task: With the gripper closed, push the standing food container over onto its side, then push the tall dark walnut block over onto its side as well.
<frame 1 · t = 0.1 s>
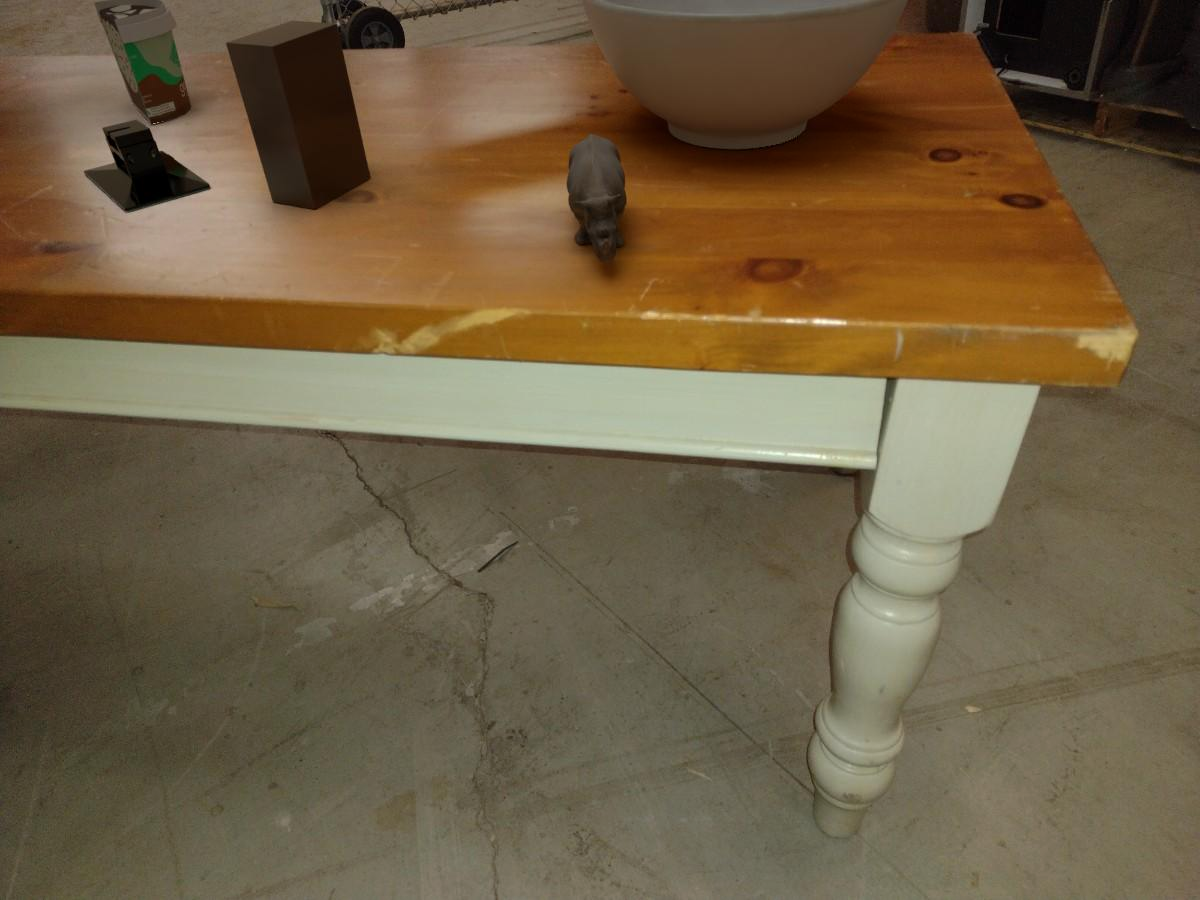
decorative bowl: (736, 128, 79), on the table
build plate: (146, 183, 75), on the table
rhino figurine: (599, 244, 61), on the table
food container: (172, 110, 93), on the table
walnut block: (322, 190, 72), on the table
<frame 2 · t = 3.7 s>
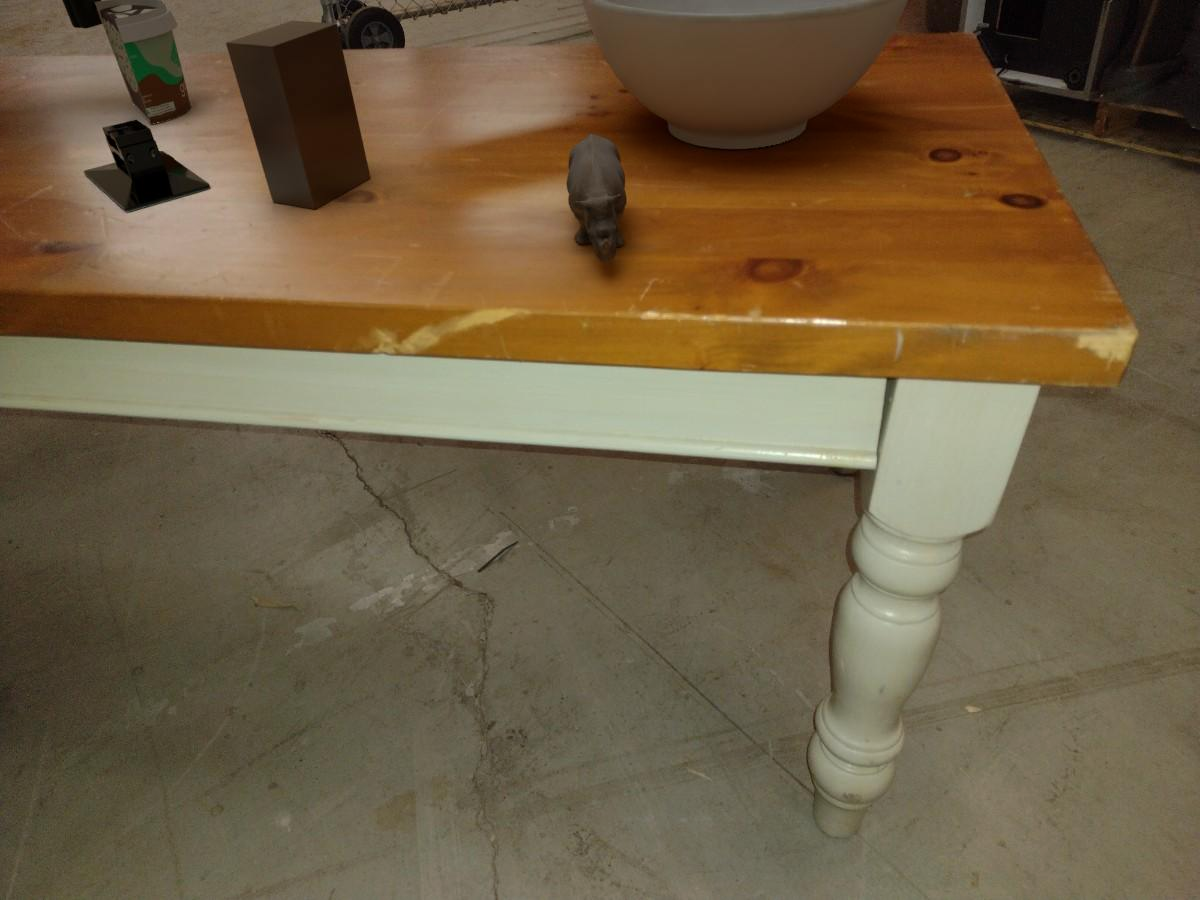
hand: (91, 24, 91), 8 cm above the table, tool pointing down, fingers closed
food container: (172, 110, 93), on the table, touching gripper
everything else where it was.
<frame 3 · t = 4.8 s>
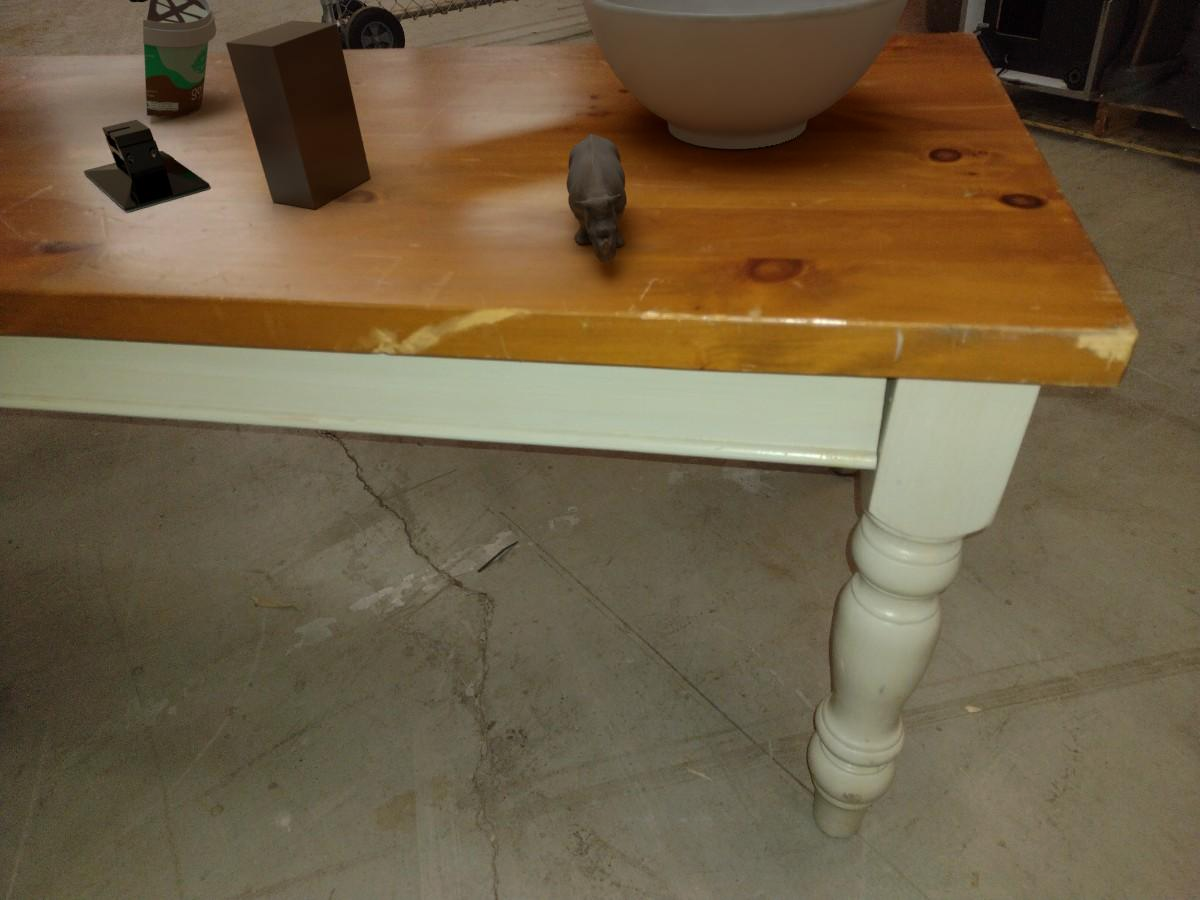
food container: (182, 101, 92), point 1 cm above the table, touching gripper
everything else where it was.
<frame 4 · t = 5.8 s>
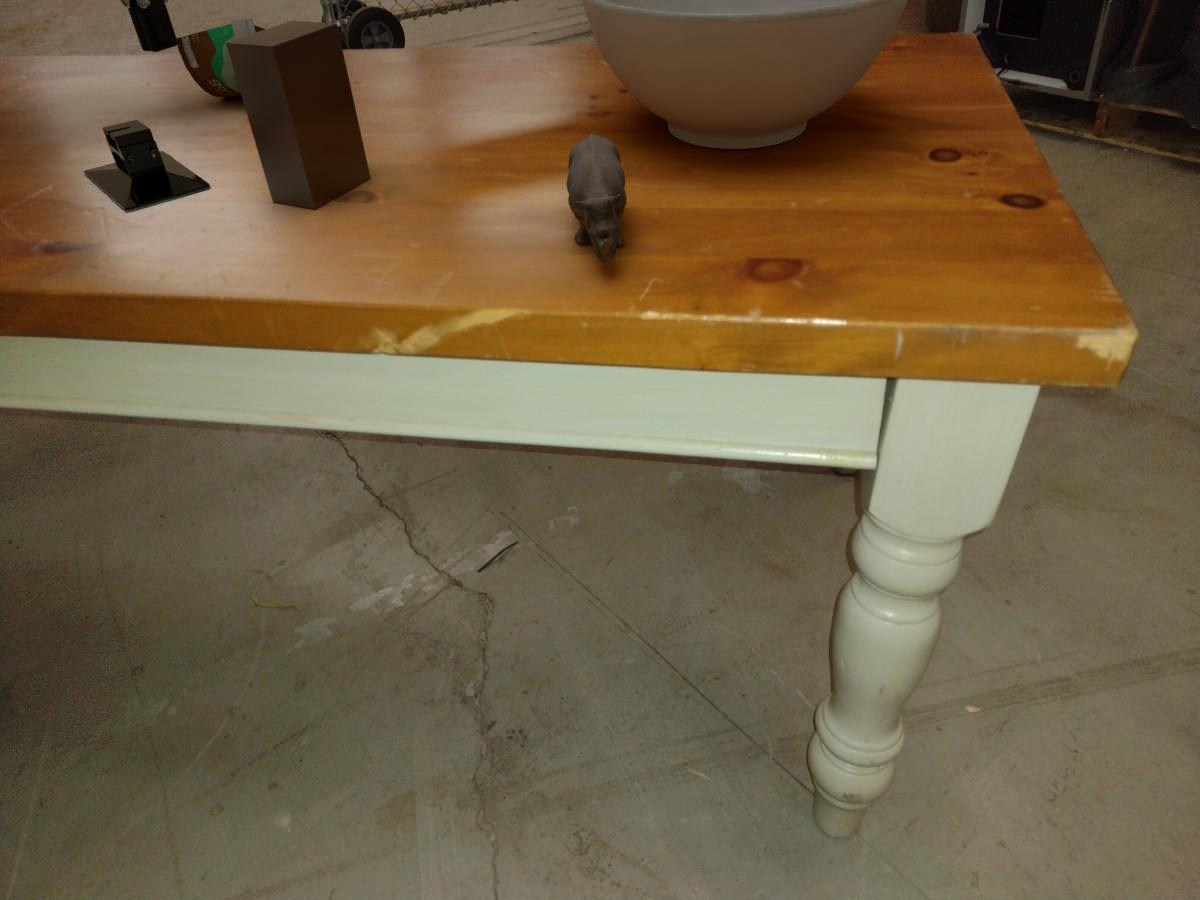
hand: (160, 47, 88), 6 cm above the table, tool pointing down, fingers closed
food container: (211, 78, 93), point 2 cm above the table, touching gripper
everything else where it was.
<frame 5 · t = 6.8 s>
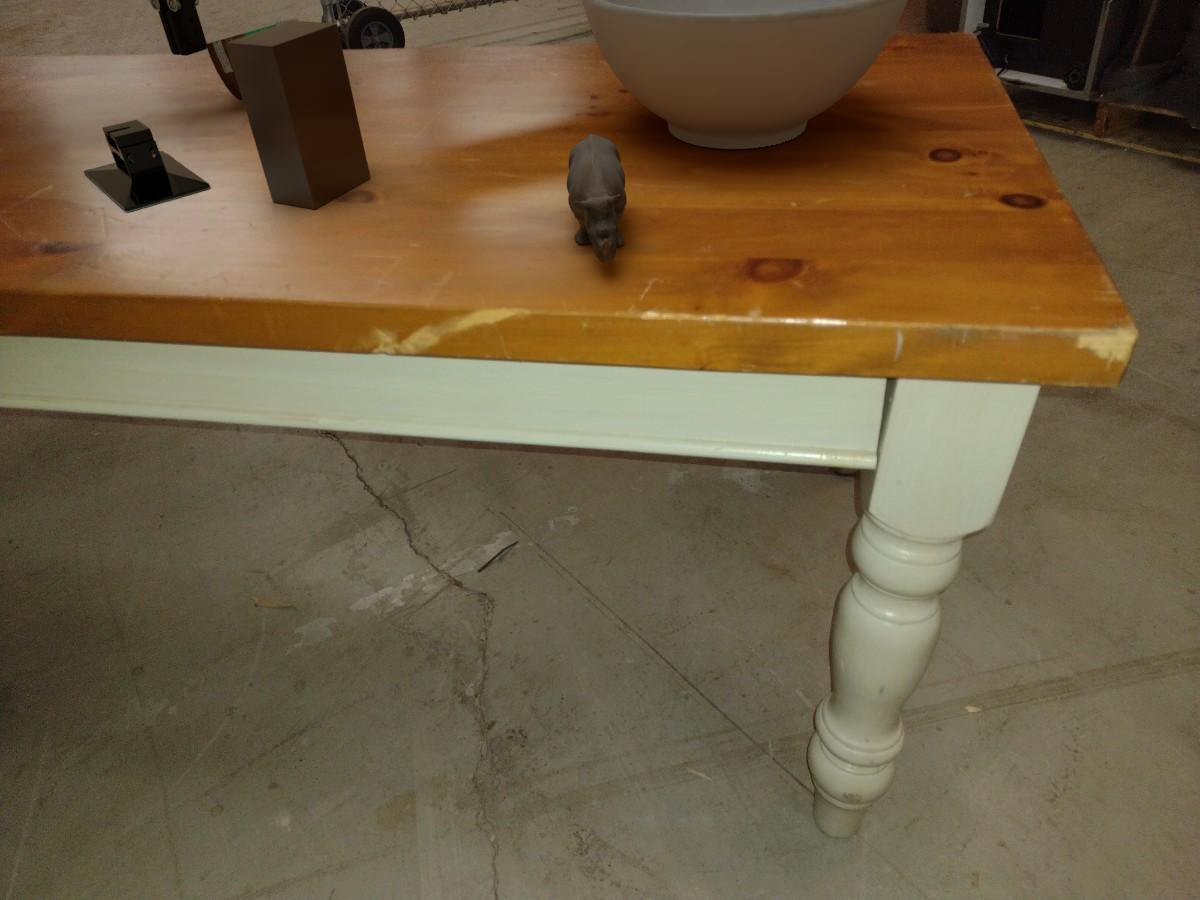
hand: (190, 51, 87), 6 cm above the table, tool pointing down, fingers closed
food container: (233, 82, 92), point 2 cm above the table, touching gripper
everything else where it was.
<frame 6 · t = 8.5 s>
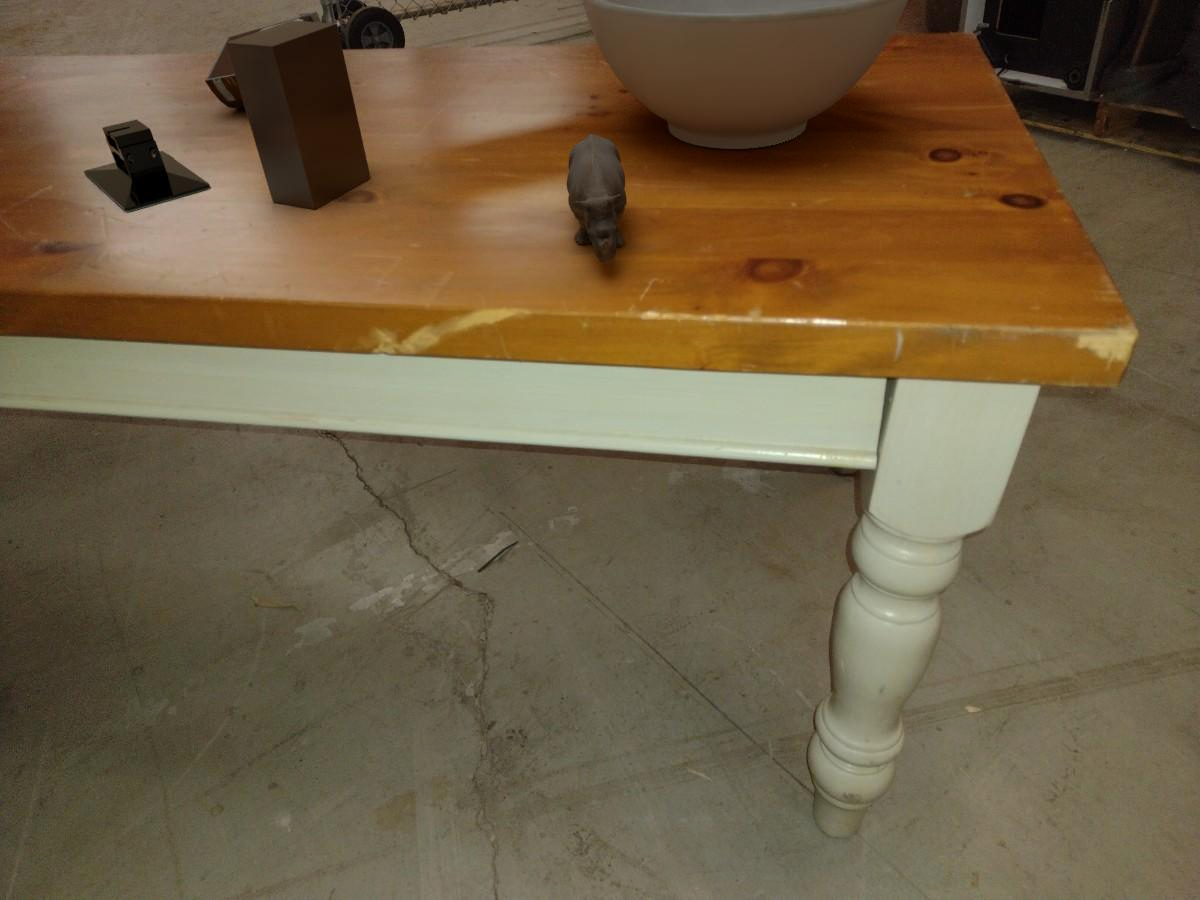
food container: (230, 86, 91), point 2 cm above the table
everything else where it was.
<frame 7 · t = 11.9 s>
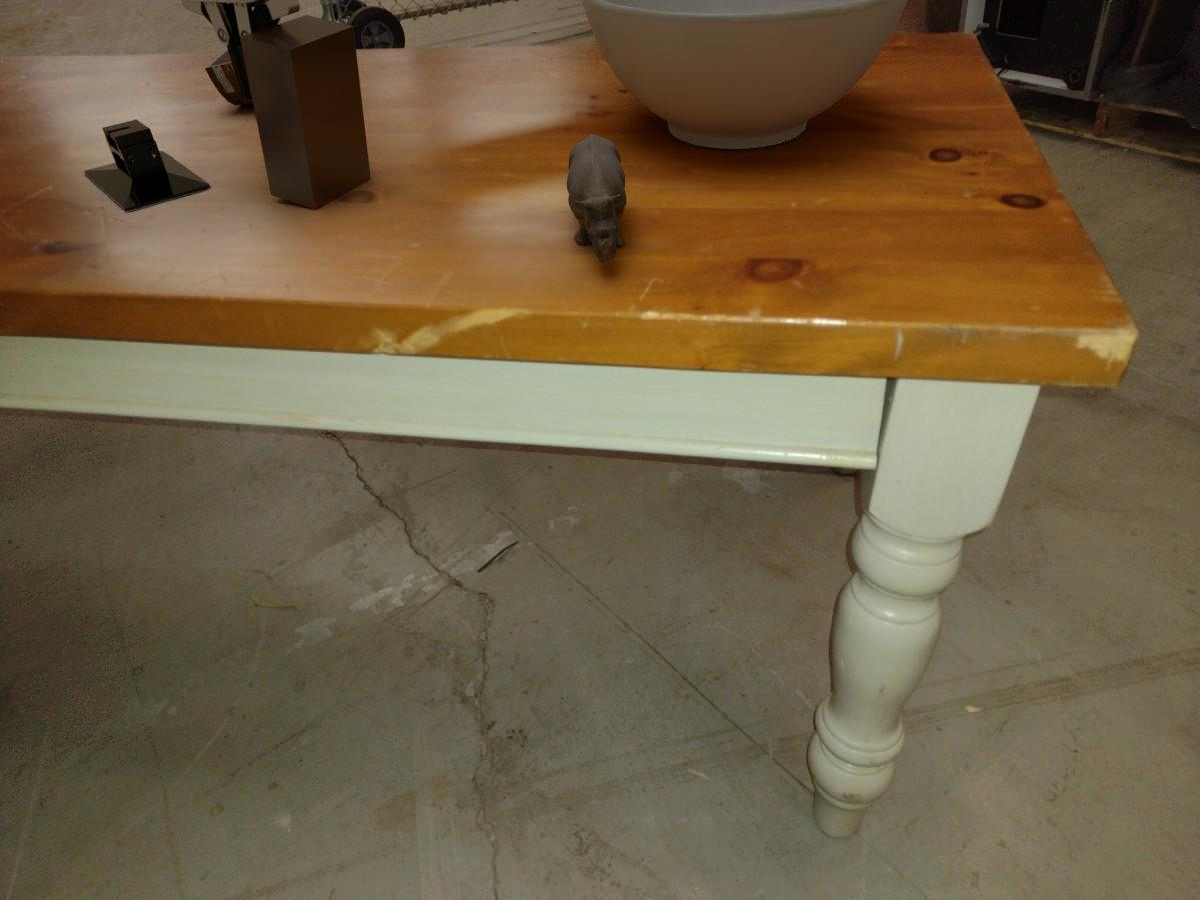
hand: (264, 94, 68), 7 cm above the table, tool pointing down, fingers closed
walnut block: (322, 186, 71), on the table, tilted 8°
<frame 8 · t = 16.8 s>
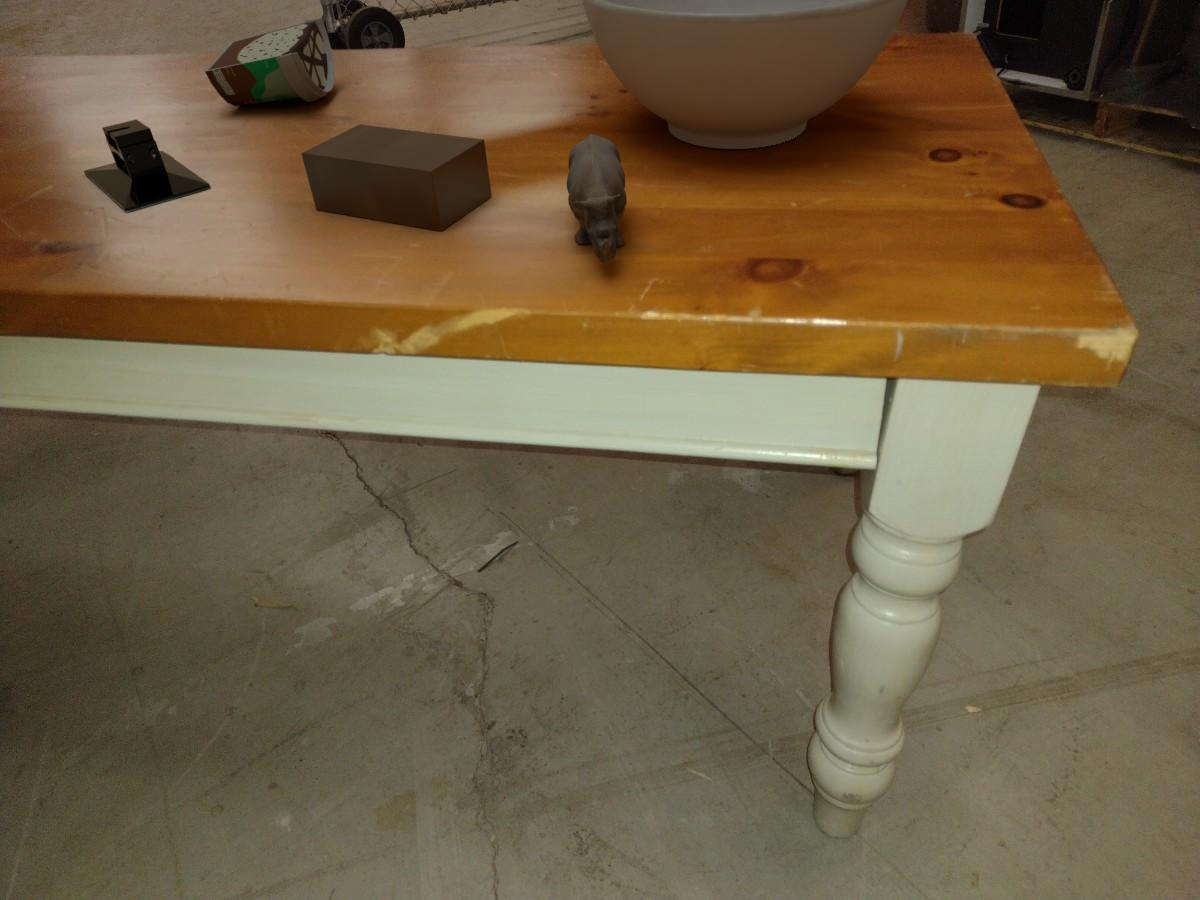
walnut block: (338, 166, 69), point 2 cm above the table, tilted 90°
everything else where it was.
at the end: food container tilted 81°; walnut block tilted 90° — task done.
